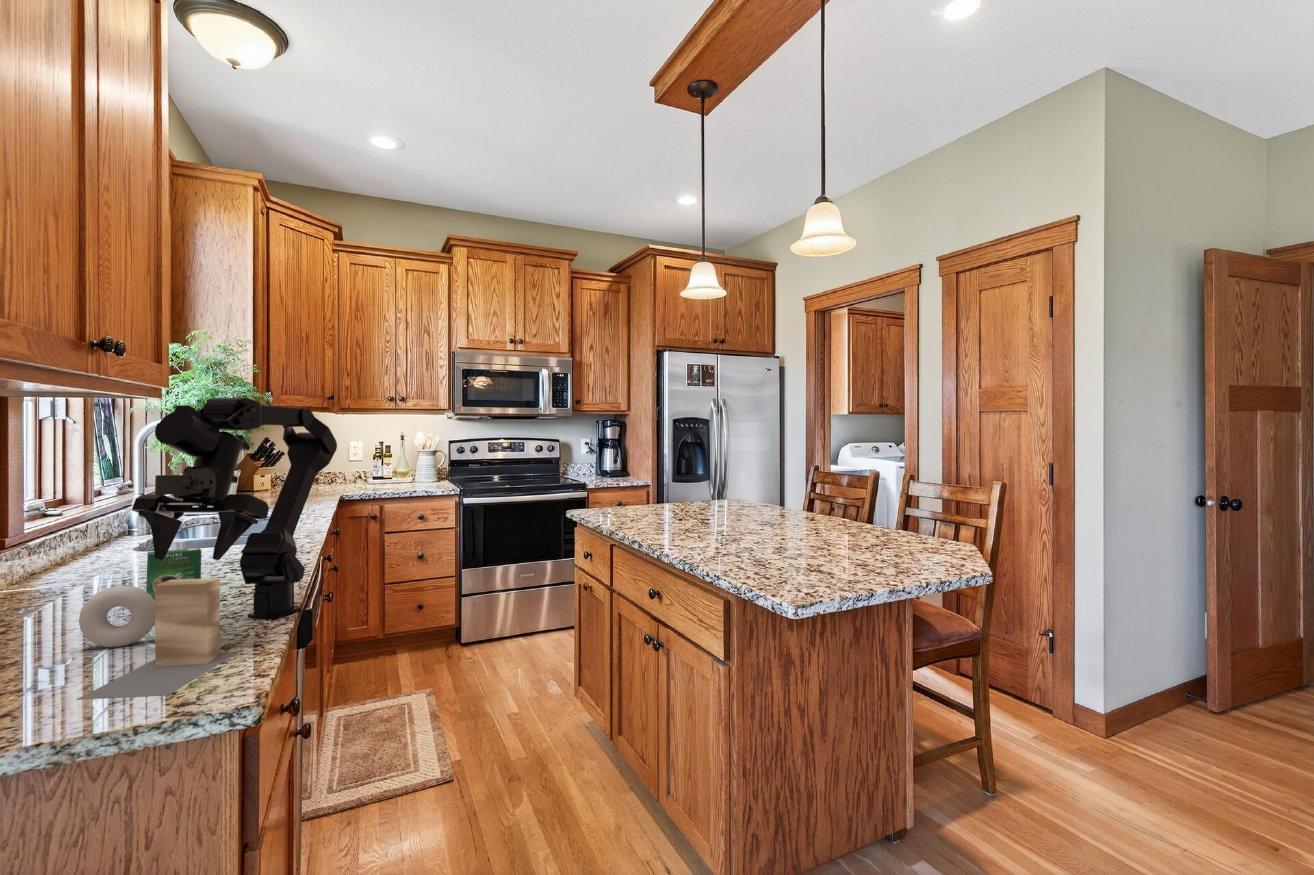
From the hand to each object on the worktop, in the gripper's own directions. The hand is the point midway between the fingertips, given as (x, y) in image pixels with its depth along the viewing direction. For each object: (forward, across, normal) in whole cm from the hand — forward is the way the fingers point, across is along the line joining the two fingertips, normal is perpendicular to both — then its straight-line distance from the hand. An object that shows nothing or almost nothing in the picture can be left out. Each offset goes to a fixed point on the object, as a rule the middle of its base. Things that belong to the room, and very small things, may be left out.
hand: (187, 559), depth 96 cm
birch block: (+15, +3, +2) cm, 15 cm away
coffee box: (+7, -17, +22) cm, 28 cm away
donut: (+13, -14, +8) cm, 20 cm away
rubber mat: (+17, +4, -2) cm, 18 cm away
